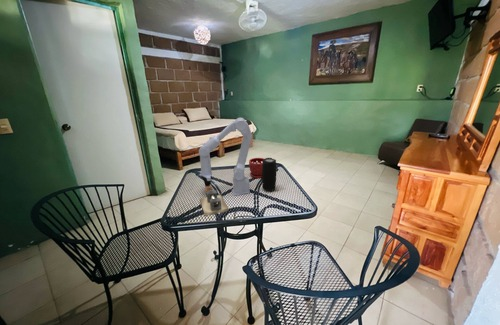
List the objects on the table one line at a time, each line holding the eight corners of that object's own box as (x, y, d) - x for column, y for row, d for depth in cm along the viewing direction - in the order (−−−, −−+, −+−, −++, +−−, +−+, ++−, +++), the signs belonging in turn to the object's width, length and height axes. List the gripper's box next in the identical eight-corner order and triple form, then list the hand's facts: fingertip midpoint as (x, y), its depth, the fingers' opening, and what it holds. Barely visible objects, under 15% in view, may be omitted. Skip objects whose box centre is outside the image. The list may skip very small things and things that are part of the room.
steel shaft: (212, 190, 119) (211, 184, 118) (219, 205, 103) (218, 198, 102) (205, 191, 118) (204, 185, 117) (211, 206, 102) (210, 199, 101)
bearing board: (221, 197, 117) (220, 186, 115) (228, 210, 103) (228, 199, 101) (200, 201, 113) (198, 190, 111) (205, 216, 99) (203, 204, 97)
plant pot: (245, 175, 148) (245, 160, 144) (258, 171, 156) (258, 156, 152) (258, 181, 138) (258, 164, 135) (271, 175, 147) (271, 160, 143)
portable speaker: (262, 193, 121) (262, 162, 115) (261, 186, 130) (261, 157, 124) (276, 192, 121) (277, 161, 115) (274, 186, 130) (275, 157, 124)
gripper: (197, 163, 121) (199, 184, 125) (200, 171, 108) (202, 193, 113) (208, 161, 124) (210, 182, 128) (213, 169, 111) (215, 191, 115)
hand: (207, 187), depth 120 cm, fingers closed
